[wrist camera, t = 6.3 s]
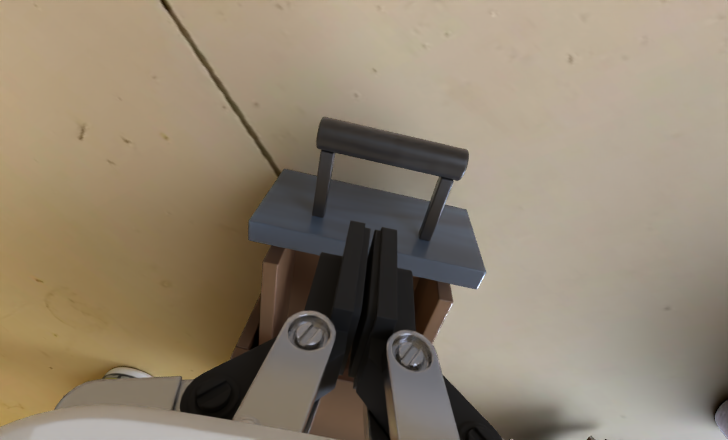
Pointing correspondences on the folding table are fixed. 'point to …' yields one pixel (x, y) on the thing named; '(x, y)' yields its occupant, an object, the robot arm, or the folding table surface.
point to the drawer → (374, 208)
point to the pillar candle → (722, 418)
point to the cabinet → (335, 409)
